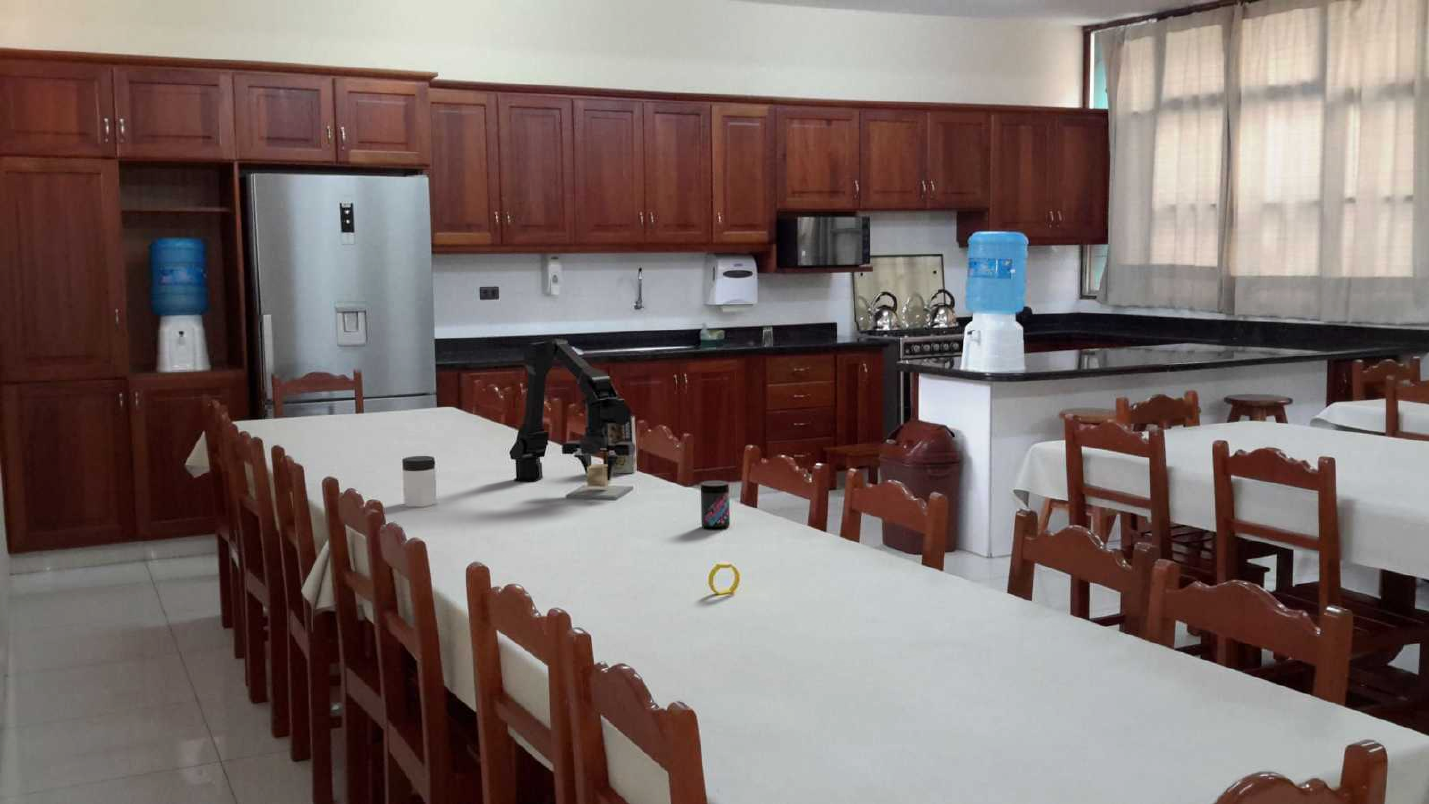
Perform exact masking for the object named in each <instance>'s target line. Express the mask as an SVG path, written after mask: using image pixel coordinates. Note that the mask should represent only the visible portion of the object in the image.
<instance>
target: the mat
mask: <svg viewBox="0 0 1429 804" xmlns="http://www.w3.org/2000/svg"><path fill="white" fill-rule="evenodd" d="M633 490H634V486H627V485H626V486H625V485H607V486H606V487H600V486H588V485H587V484H584V485H582V486H579V487H578V488H576V489H574V490H573V491H572V490H571V491H570V492H569V493H567V494H566V495H565V499H576V500H577V499H581V500H588V499H589V500H610V501H617V500H619V499H620V498H622V497H623V496H626V494H628V493H630V492H631V491H633Z"/></svg>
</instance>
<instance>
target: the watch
mask: <svg viewBox="0 0 1429 804" xmlns="http://www.w3.org/2000/svg"><path fill="white" fill-rule="evenodd" d="M729 568H731V569H732V571H733V573H734V581H733V584H732V585H731V586H730V588H729V589H726V590H719V591H717V589H716V588H715V585H714V577H715V575H716V574H717V572H718V571H719V570H720V569H729ZM740 580H741V579H740V573H739V571H738V569H737V567H736V566H734V565H732V562H731V561H724V560H723V561H718V562H716V566H714V567H713V568H712V569H711V571H710V572H709V574H708V586H709V588H710V590H711V591H712V592H713V593H715V594H717V595H718V596H721V595H726V594H733V593H734V592H735V591H736V590H737V589H738V587H739V583H740Z"/></svg>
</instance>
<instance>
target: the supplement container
mask: <svg viewBox="0 0 1429 804" xmlns="http://www.w3.org/2000/svg"><path fill="white" fill-rule="evenodd" d="M699 484H700V487H699V488H700V521H701V522H700V525H701V527H702V528H703V529H704V530H710V531H720V530H725V529H728V528H729V527H730V524H731V522H730V521H731V517H730V516H731V514H730V513H731V511H730V482H729V481H726V480H705V481H701V482H700V483H699Z"/></svg>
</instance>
